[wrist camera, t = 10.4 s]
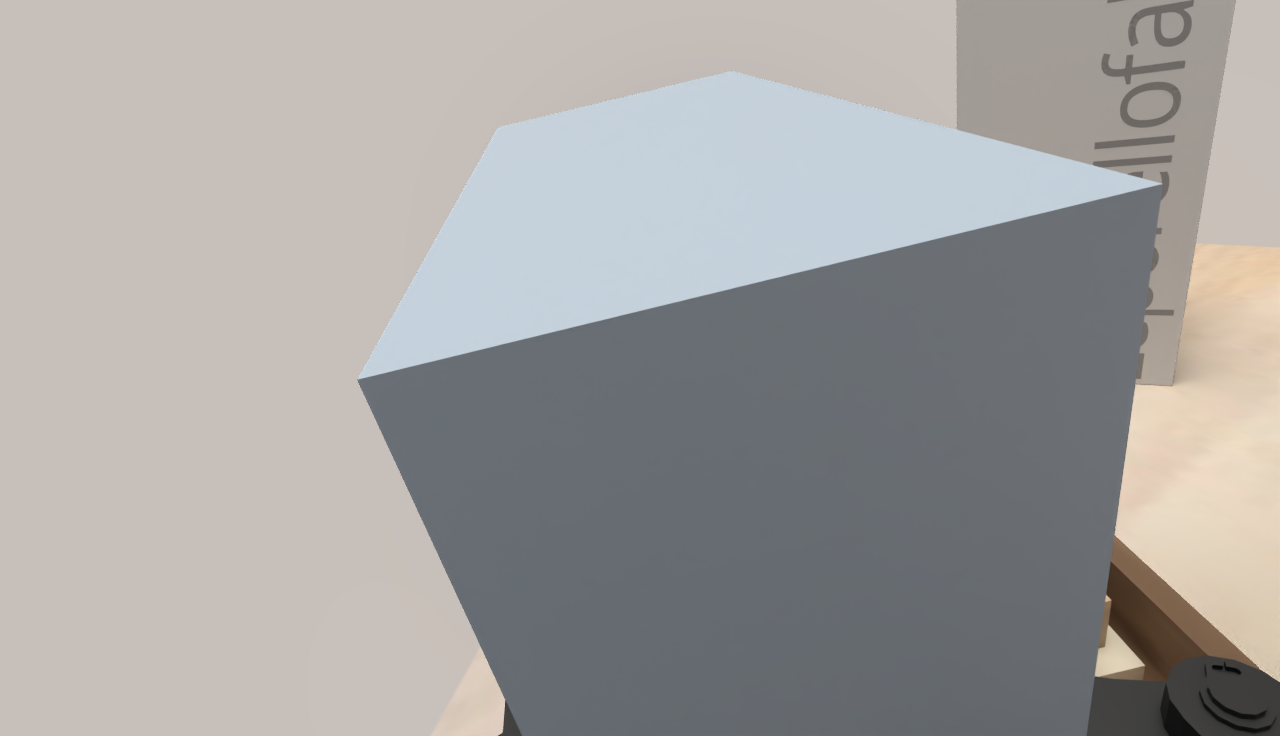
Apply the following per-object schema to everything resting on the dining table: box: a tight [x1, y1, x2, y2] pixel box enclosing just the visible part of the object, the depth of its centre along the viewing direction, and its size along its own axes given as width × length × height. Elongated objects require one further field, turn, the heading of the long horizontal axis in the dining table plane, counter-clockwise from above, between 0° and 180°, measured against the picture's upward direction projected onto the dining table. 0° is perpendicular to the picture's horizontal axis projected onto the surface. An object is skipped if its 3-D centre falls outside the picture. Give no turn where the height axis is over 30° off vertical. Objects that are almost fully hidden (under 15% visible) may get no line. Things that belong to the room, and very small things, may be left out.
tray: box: [1106, 535, 1259, 682], centre depth 35 cm, size 23×18×5 cm
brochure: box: [957, 0, 1236, 386], centre depth 49 cm, size 14×6×30 cm, turn 62°
